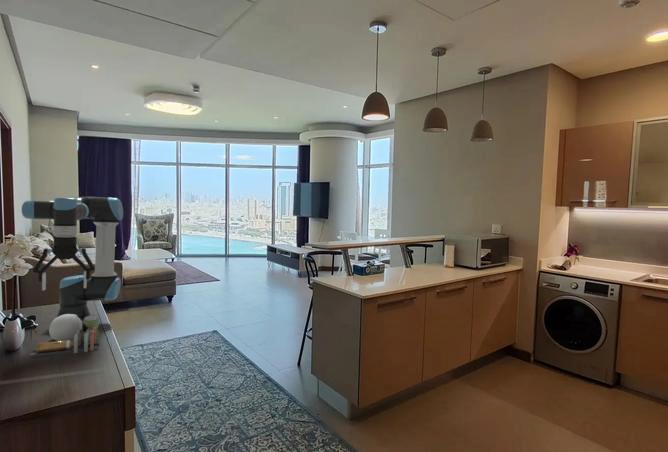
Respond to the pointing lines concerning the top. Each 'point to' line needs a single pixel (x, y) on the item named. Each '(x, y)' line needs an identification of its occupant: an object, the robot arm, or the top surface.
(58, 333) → the decorative ball
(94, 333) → the aperture bridge
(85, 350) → the collar
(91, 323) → the beverage can
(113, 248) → the robot arm
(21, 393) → the top surface
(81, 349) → the grey open frame rack
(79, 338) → the collar
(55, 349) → the copper tube
